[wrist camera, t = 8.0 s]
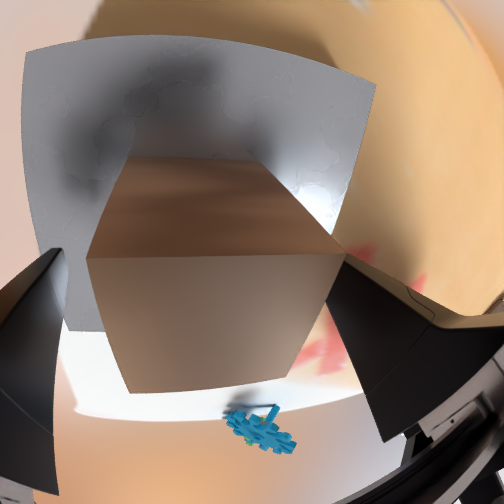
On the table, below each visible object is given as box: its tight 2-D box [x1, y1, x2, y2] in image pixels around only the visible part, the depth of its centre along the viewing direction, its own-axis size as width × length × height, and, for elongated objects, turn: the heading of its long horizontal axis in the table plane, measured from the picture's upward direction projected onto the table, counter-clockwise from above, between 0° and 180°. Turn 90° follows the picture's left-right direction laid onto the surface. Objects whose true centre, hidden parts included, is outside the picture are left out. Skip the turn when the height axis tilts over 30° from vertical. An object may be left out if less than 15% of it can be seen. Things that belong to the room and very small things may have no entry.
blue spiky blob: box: [226, 405, 297, 454], centre depth 31 cm, size 11×6×10 cm
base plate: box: [21, 35, 376, 332], centre depth 12 cm, size 14×14×2 cm
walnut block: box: [86, 157, 346, 393], centre depth 8 cm, size 5×5×6 cm
